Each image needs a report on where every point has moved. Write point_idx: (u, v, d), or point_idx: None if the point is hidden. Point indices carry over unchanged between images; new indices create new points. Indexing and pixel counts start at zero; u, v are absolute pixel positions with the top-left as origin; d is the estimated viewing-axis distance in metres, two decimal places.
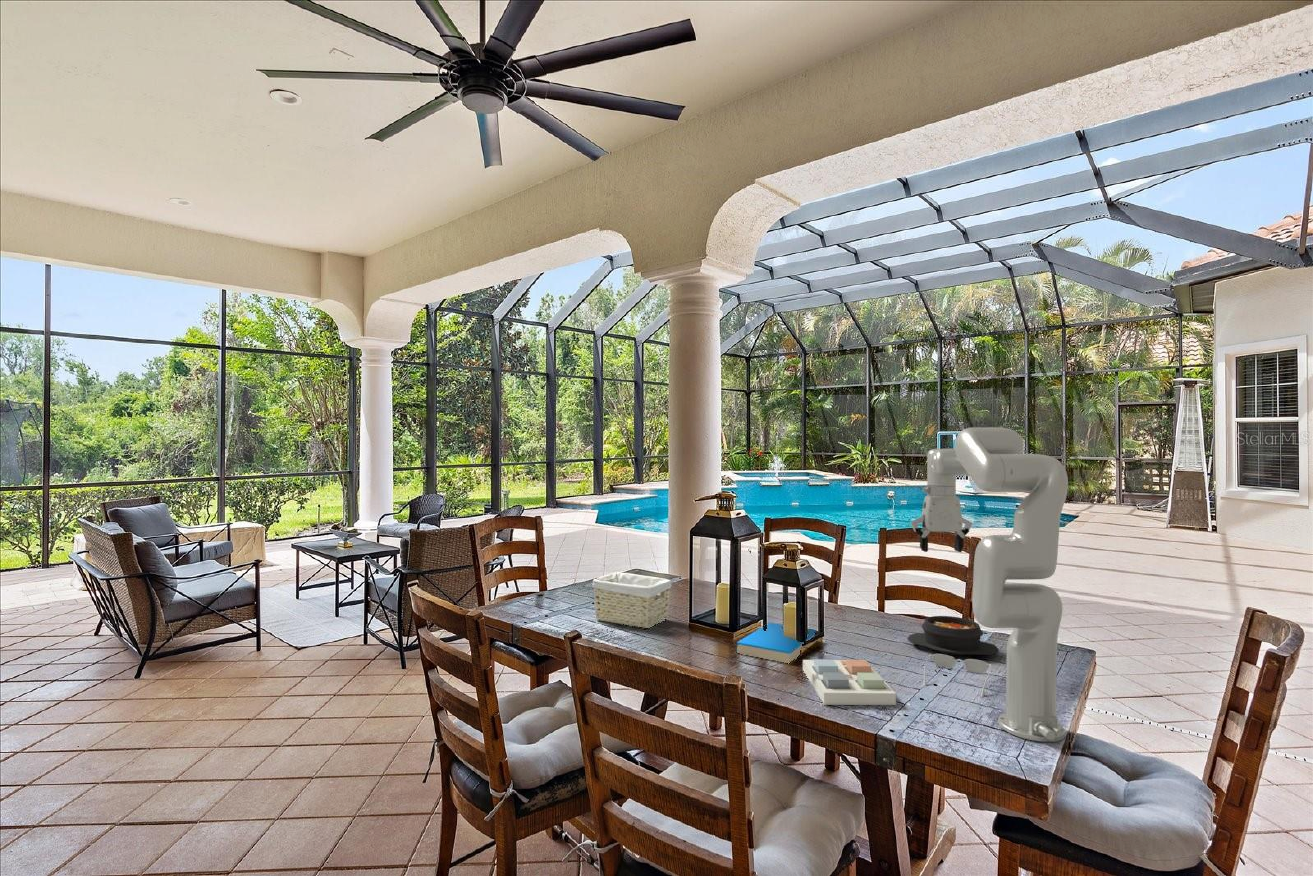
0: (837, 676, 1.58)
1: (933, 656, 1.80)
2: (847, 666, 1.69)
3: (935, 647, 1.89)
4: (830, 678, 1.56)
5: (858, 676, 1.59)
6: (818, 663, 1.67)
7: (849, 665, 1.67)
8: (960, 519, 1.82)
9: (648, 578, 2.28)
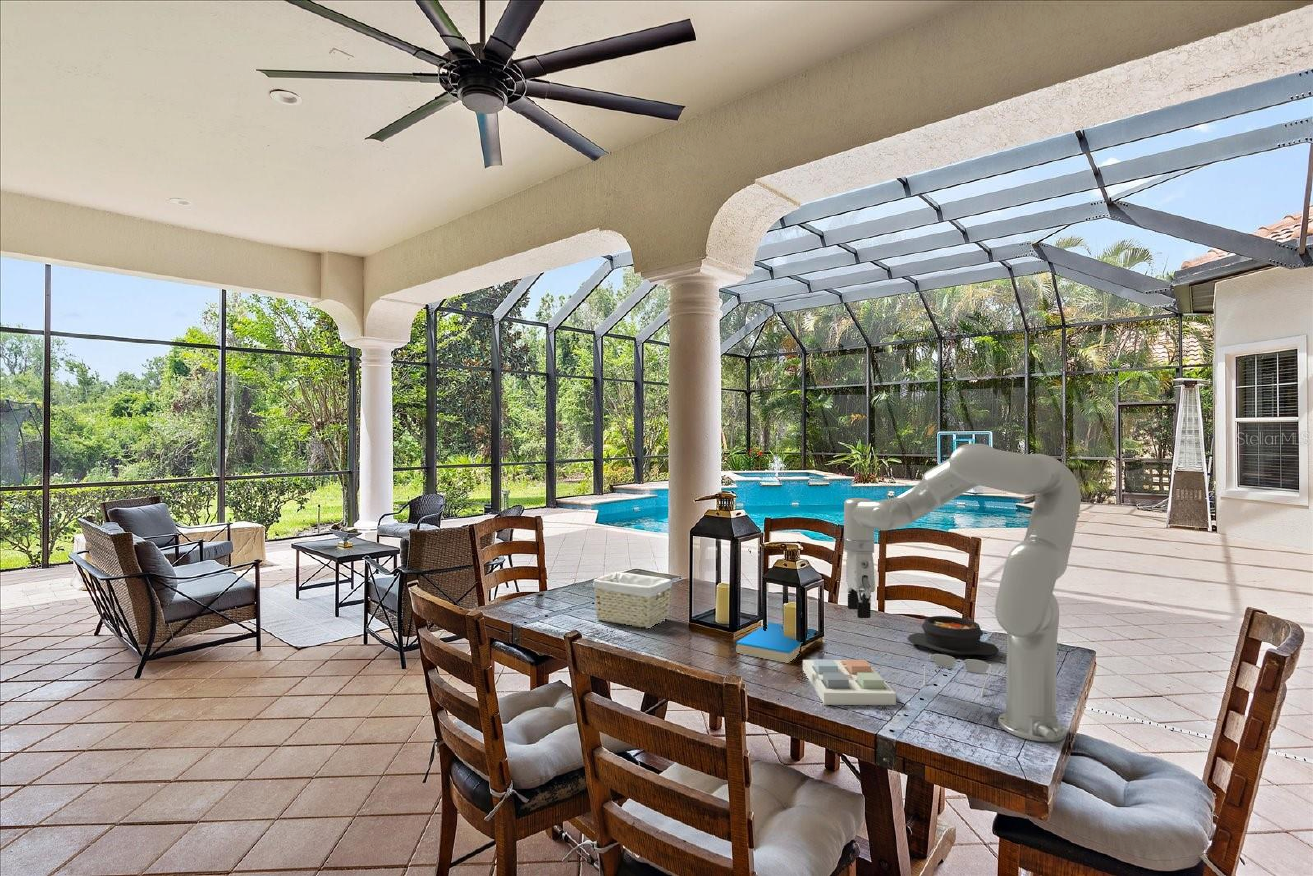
0: (837, 676, 1.58)
1: (933, 656, 1.80)
2: (847, 666, 1.69)
3: (935, 647, 1.89)
4: (830, 678, 1.56)
5: (858, 676, 1.59)
6: (818, 663, 1.67)
7: (849, 665, 1.67)
8: None
9: (648, 578, 2.29)
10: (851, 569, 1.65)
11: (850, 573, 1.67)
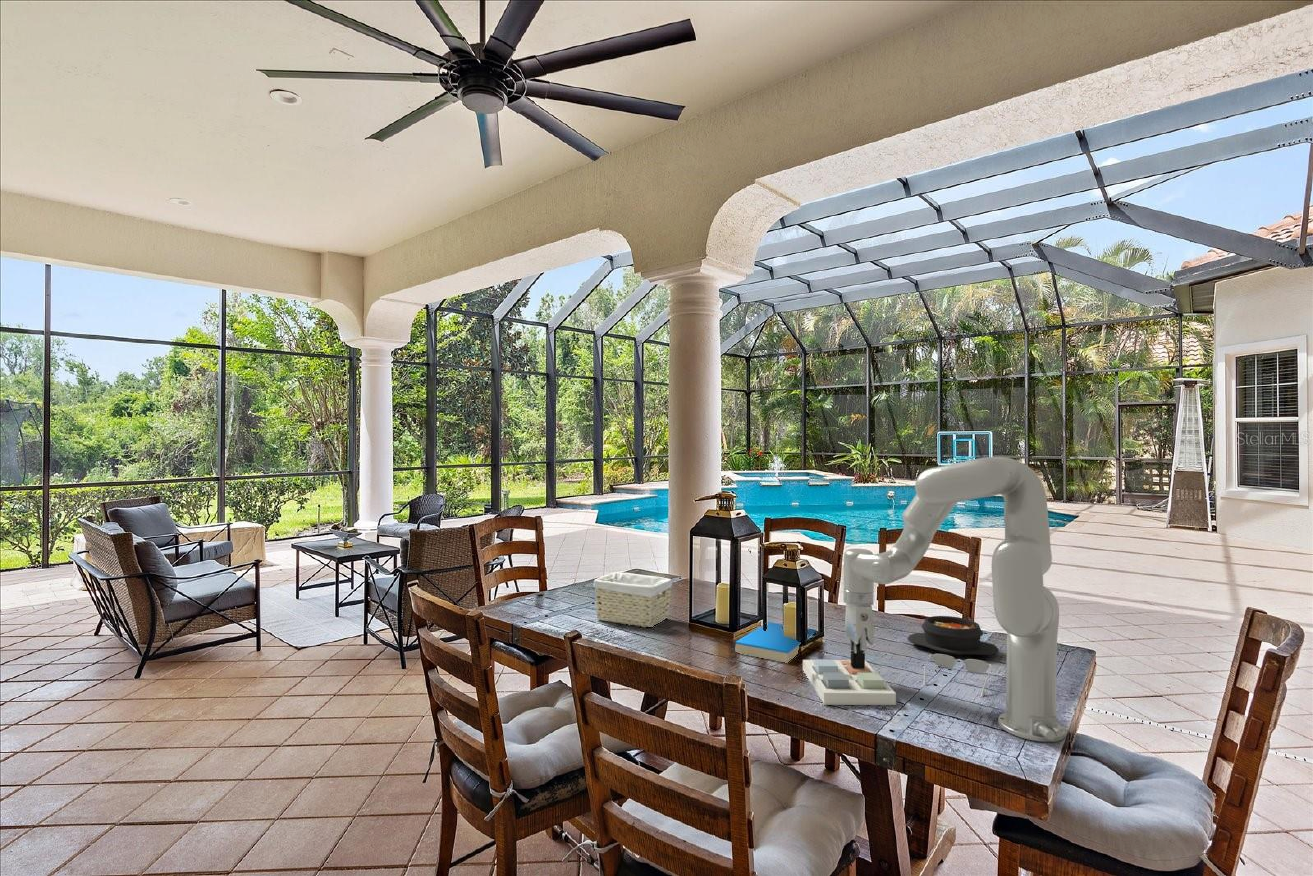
0: (837, 676, 1.58)
1: (933, 656, 1.80)
2: None
3: (935, 647, 1.89)
4: (830, 678, 1.56)
5: (858, 676, 1.59)
6: (818, 663, 1.67)
7: (849, 670, 1.67)
8: None
9: (648, 577, 2.29)
10: (851, 621, 1.65)
11: (849, 624, 1.67)
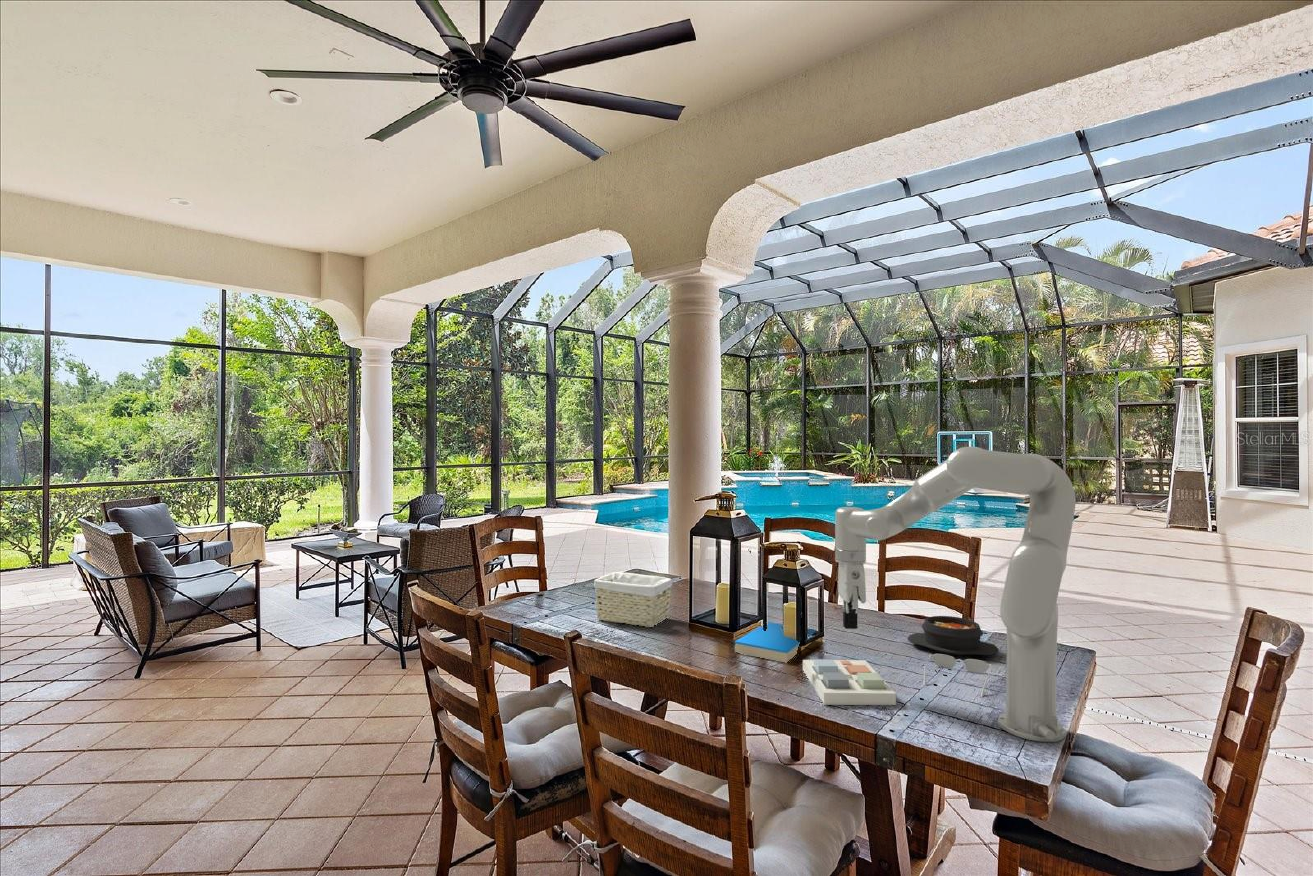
0: (837, 676, 1.58)
1: (933, 656, 1.80)
2: None
3: (935, 647, 1.89)
4: (830, 678, 1.56)
5: (858, 676, 1.59)
6: (818, 663, 1.67)
7: (849, 671, 1.67)
8: None
9: (648, 577, 2.30)
10: (842, 580, 1.62)
11: (841, 584, 1.63)
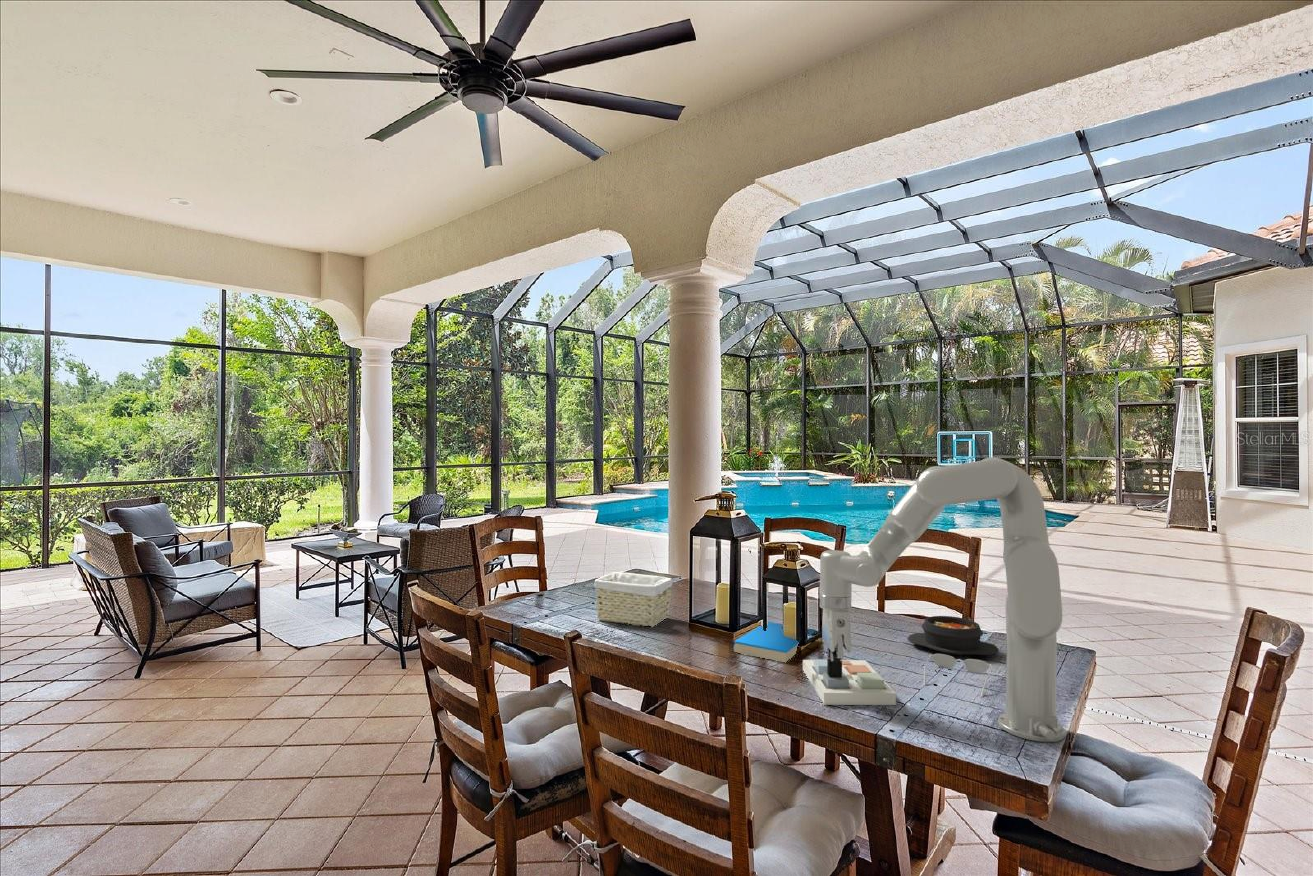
0: None
1: (933, 656, 1.80)
2: None
3: (935, 647, 1.89)
4: (830, 678, 1.56)
5: (858, 676, 1.59)
6: (818, 663, 1.67)
7: (849, 671, 1.67)
8: None
9: (648, 577, 2.30)
10: (827, 627, 1.56)
11: (826, 631, 1.57)
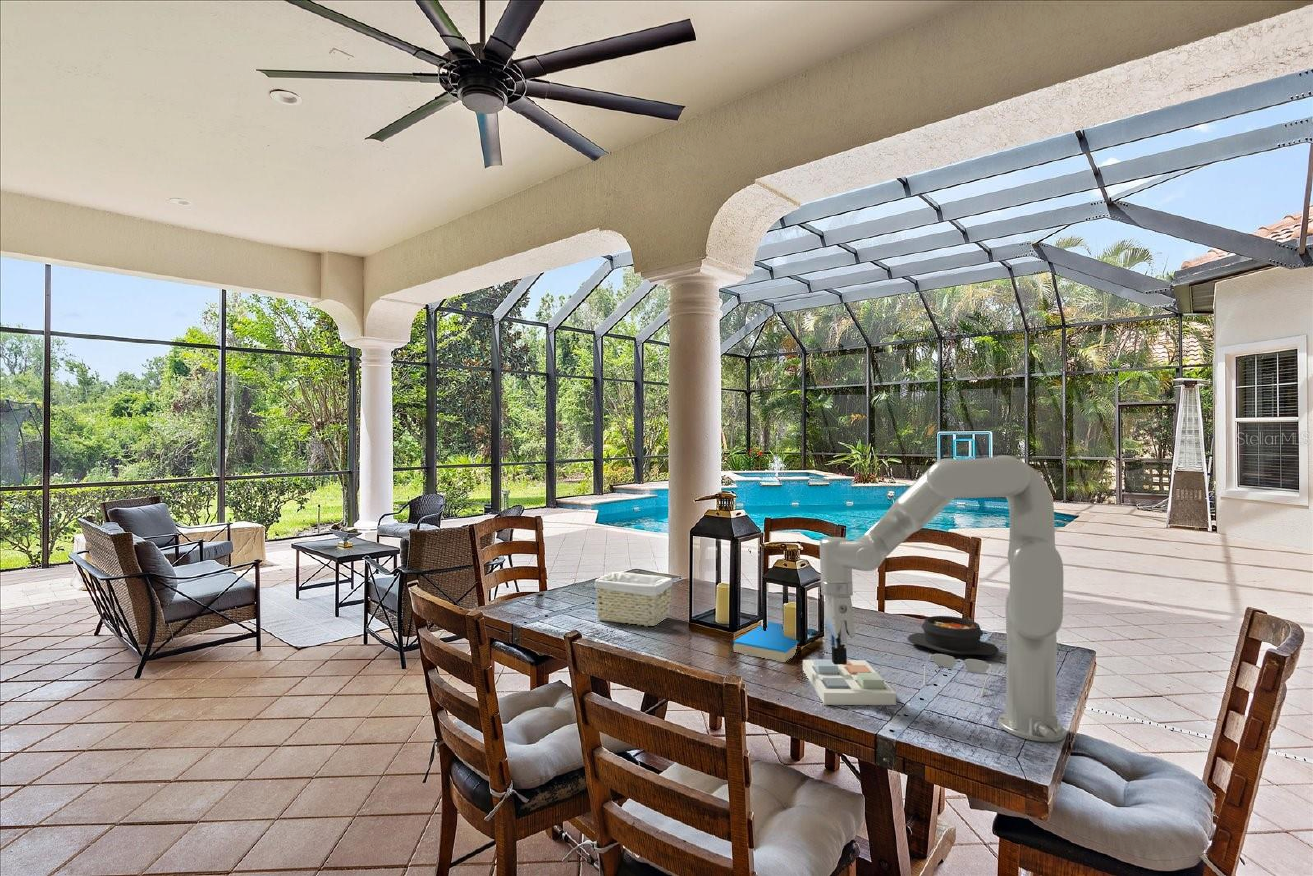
0: (837, 681, 1.58)
1: (933, 656, 1.80)
2: None
3: (935, 647, 1.89)
4: (830, 683, 1.56)
5: (858, 676, 1.59)
6: (818, 663, 1.67)
7: (849, 671, 1.67)
8: None
9: (648, 577, 2.30)
10: (829, 614, 1.56)
11: (828, 618, 1.57)
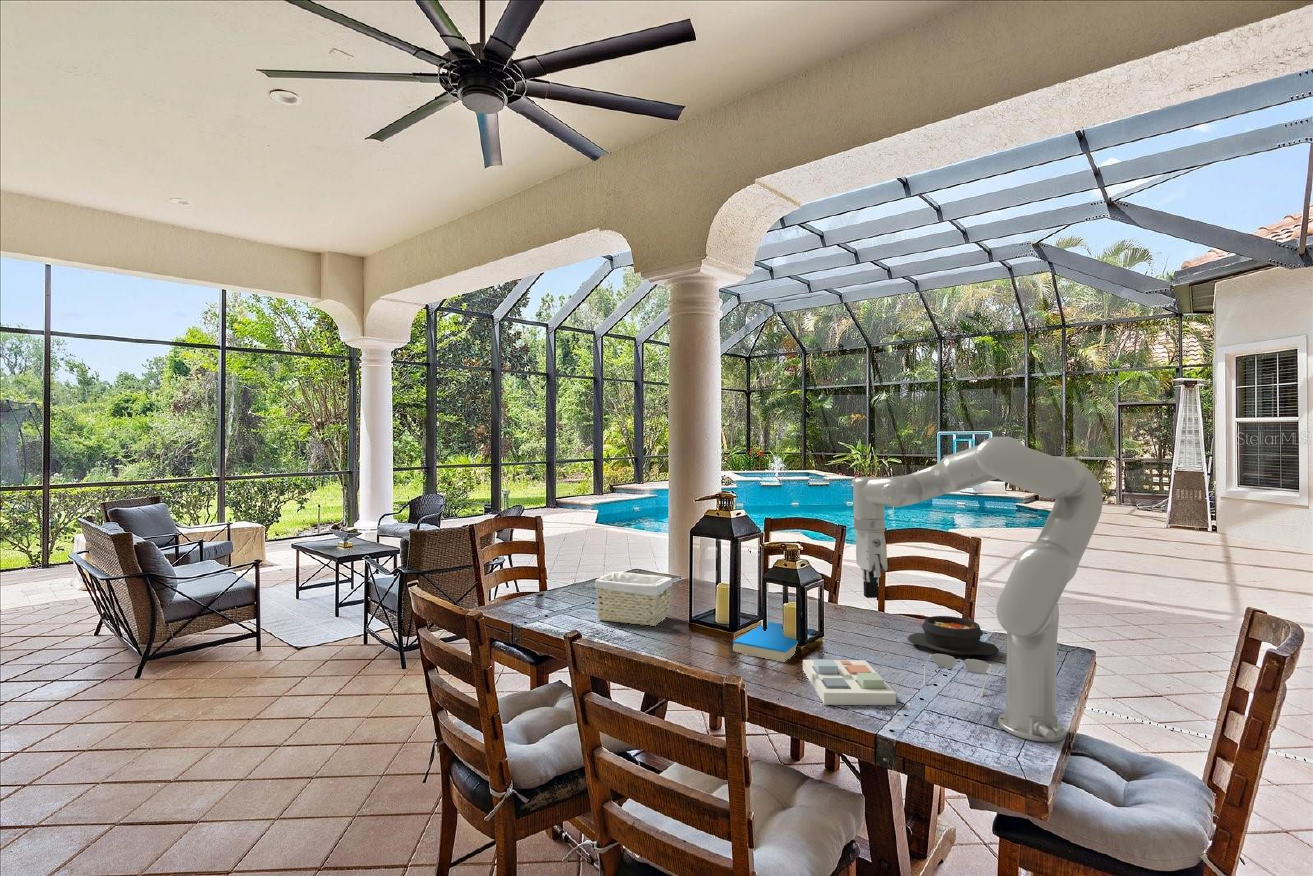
0: (837, 681, 1.58)
1: (933, 656, 1.80)
2: None
3: (935, 647, 1.89)
4: (830, 683, 1.56)
5: (858, 676, 1.59)
6: (818, 663, 1.67)
7: (849, 671, 1.67)
8: None
9: (648, 577, 2.31)
10: (863, 549, 1.62)
11: (861, 553, 1.63)
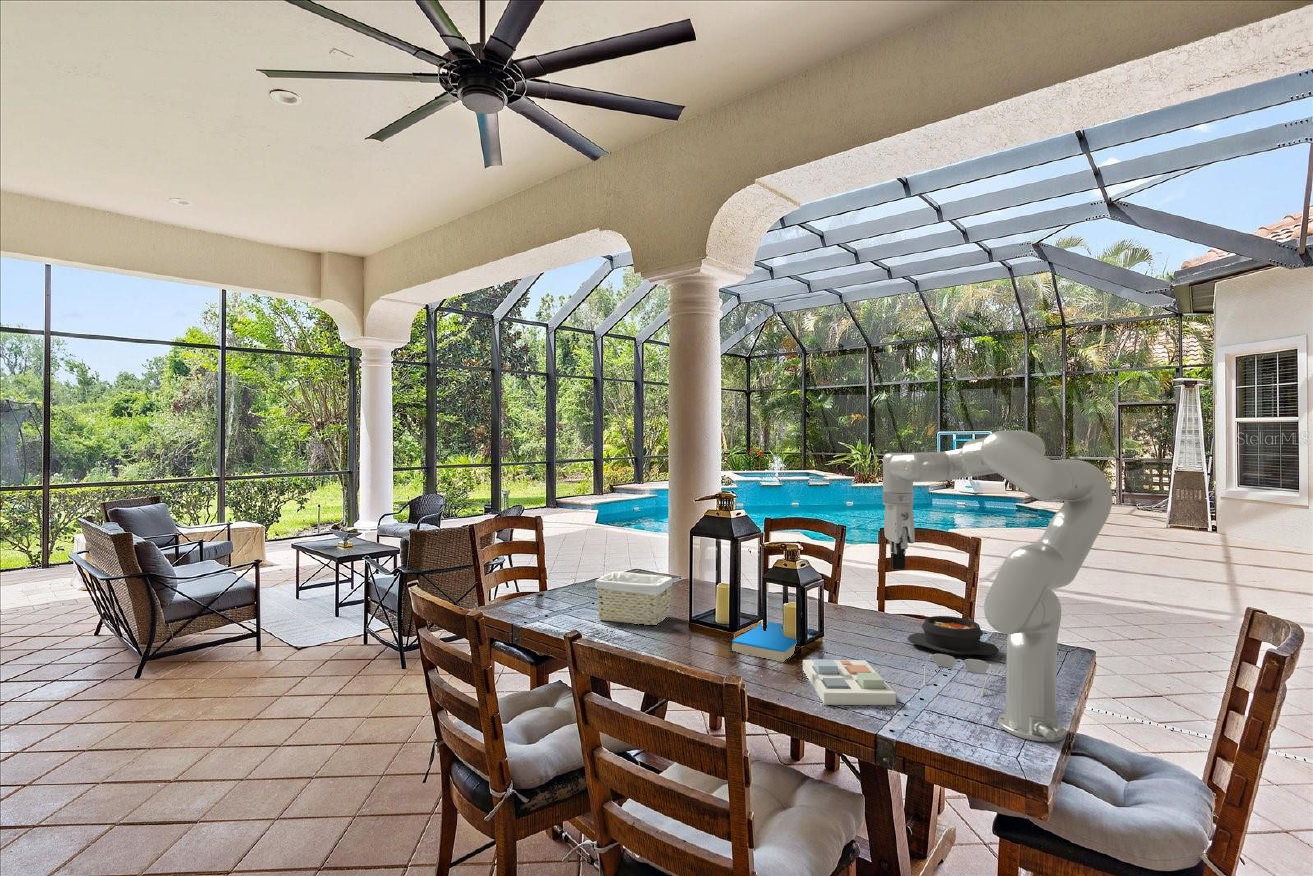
0: (837, 681, 1.58)
1: (933, 656, 1.80)
2: None
3: (935, 647, 1.89)
4: (830, 683, 1.56)
5: (858, 676, 1.59)
6: (818, 663, 1.67)
7: (849, 671, 1.67)
8: None
9: (648, 576, 2.31)
10: (891, 521, 1.68)
11: (889, 526, 1.69)
